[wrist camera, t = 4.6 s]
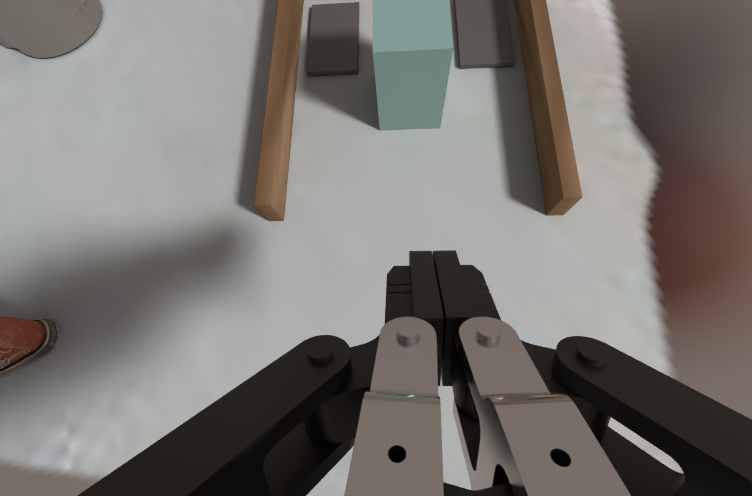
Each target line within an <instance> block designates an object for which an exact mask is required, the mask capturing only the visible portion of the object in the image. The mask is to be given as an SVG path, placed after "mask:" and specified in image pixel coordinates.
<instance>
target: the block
mask: <svg viewBox="0 0 752 496" xmlns="http://www.w3.org/2000/svg"><path fill="white" fill-rule="evenodd" d="M452 52H453V41H452V28H451V15H450V2H449V0H373V62H374V73H375V83H376V94H377V105H378V116H379V127H380V130H405V129H432V128H440V126H441V120H442V113H443V107H444V101H445V95H446V89H447V83H448V77H449V70H450V64H451V58H452Z"/></svg>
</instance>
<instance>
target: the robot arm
mask: <svg viewBox="0 0 752 496" xmlns="http://www.w3.org/2000/svg"><path fill="white" fill-rule="evenodd" d="M102 12H103V11H102V4H101V2H100V0H0V42H1V43H2V44H3V45H4V46H6V47H7V48H17V49H19V50H20V51H21V52H22V53H24V54H26V55H28V56H31V57H37V58H49V57H54V56H59V55H62V54H64V53H67V52H69V51H71V50H73V49H75V48H77V47H78V46H80V45H81V44H82V43H84V42H85V41H86V40H87V39H88V38H89V37H90V36H91V35H92V34H93V33H94V32H95V30H96V29H97V27H98V26H99V23H100V21H101V18H102ZM441 378H442V385H443V386H452V387H453V393H454V402H453V413H454V418H455V422H456V426H457V430H458V434H459V438H460V442H461V446H462V450H463V454H464V458H465V462H466V466H467V470H468V474H469V478H470V483H471V490H468V489H465V488H461V487H458V486H454V485H451V484H447V483H444V482H443V462H442V435H441V408H440V397H438V386H440V379H441ZM611 417H612V418H613V419H615V420H616V421H618V422H619V423H621V424H622V425H624V426H625V427H627V428H628V429H630V430H631V431H633V432H634V433H636V434H638V435H639V436H641V437H642V438H644V439H645V440H647V441H648V442H650V443H651V444H653V445H654V446H656V447H657V448H659V449H660V450H662V451H663V452H665V453H666V454H668V455H669V456H670V457H672V458H673V459H674V460H675V461H676V462H677V463H678V464H679V466H680V467H681V468H682V470H683V472H684V474H682V473H678V472H676V471H674V470H672V469H670V468H668V467H667V466H665V465H664V464H662V463H661V462H659V461H658V460H656V459H655V458H654V457H652V456H651V455H649V454H648V453H646V452H645V451H643V450H642V449H640V448H639V447H637V446H636V445H634V444H633V443H632V442H630V441H629V440H627V439H626V438H624V437H623V436H621V435H620V434H618V433H617V432H615V431H614V430H612V429H611V428H610V427H608V423H609V421H610V418H611ZM353 445H354V448H353V454H352V459H351V464H350V469H349V474H348V480H347V485H346V490H345V495H344V496H752V420H751V419H749V418H747V417H745V416H744V415H742V414H740V413H738V412H736V411H734V410H732V409H730V408H728V407H726V406H724V405H722V404H720V403H719V402H717V401H715V400H713V399H711V398H709V397H707V396H705V395H703V394H701V393H699V392H698V391H696V390H694V389H692V388H690V387H688V386H686V385H684V384H682V383H680V382H678V381H677V380H675V379H673V378H671V377H669V376H667V375H665V374H663V373H661V372H659V371H657V370H655V369H654V368H652V367H650V366H648V365H646V364H644V363H642V362H640V361H638V360H636V359H634V358H633V357H631V356H629V355H627V354H625V353H623V352H621V351H619V350H617V349H615V348H613V347H611V346H610V345H608V344H606V343H603V342H601V341H599V340H596V339H593V338H589V337H582V336H572V337H567V338H564V339H563V340H561V341H560V342H559V343H558V345H557V348H556V350H555V349H550V348H546V347H541V346H537V345H533V344H529V343H526V342H524V341H522V340H520V338H519V337H518V335H517V333H516V332H515V330H514V329H513V328H512V327H511V326H510V325H508V324H507V323H505V322H503V321H501V319H500V316H499V314H498V311H497V309H496V306H495V304H494V301H493V299H492V296H491V294H490V293H489V289H488V286H487V285H486V282H485V279H484V277H483V274H482V273H481V272H480V271H479V270H478V269H476V268H475V267H474V266H473V265H460V263H459V260H458V257H457V253H456V251H455V250H453V251H433V253H432V251H409V266H393V268H392V269H391V270H390V271H389V273H388V274H387V288H386V309H385V325H384V326H383V327H382V329H381V332H380V335H379V336H378V337H376V338H375V339H374V340H372V341H370V342H368V343H365V344H362V345H358V346H354V347H349V346H348V344H347V343H346V342H345V341H344V340H343V339H341V338H339V337H336V336H331V335H320V336H315V337H312V338H309V339H307V340H305V341H303V342H302V343H300V344H299V345H297V346H296V347H294V348H293V349H291V350H290V351H289V352H287V353H286V354H284V355H283V356H281V357H280V358H278V359H277V360H275V361H274V362H272V363H271V364H270V365H268V366H267V367H265V368H264V369H262V370H261V371H259V372H258V373H256V374H255V375H253V376H252V377H250V378H249V379H248V380H246V381H245V382H243V383H242V384H240V385H239V386H237V387H236V388H234V389H233V390H231V391H230V392H229V393H227V394H226V395H224V396H223V397H221V398H220V399H218V400H217V401H215V402H214V403H212V404H211V405H210V406H208V407H207V408H205V409H204V410H202V411H201V412H199V413H198V414H196V415H195V416H193V417H192V418H190V419H189V420H188V421H186V422H185V423H183V424H182V425H180V426H179V427H177V428H176V429H174V430H173V431H171V432H170V433H169V434H167V435H166V436H164V437H163V438H161V439H160V440H158V441H157V442H155V443H154V444H152V445H151V446H150V447H148V448H147V449H145V450H144V451H142V452H141V453H139V454H138V455H136V456H135V457H133V458H132V459H130V460H129V461H128V462H126V463H125V464H123V465H122V466H120V467H119V468H117V469H116V470H114V471H113V472H111V473H110V474H109V475H107V476H106V477H104V478H103V479H101V480H100V481H98V482H97V483H95V484H94V485H92V486H91V487H90V488H88V489H87V490H85V491H84V492H82V493H81V494H80V495H78V496H306V495H307V494H308V493H309V492H310V491H311V490H312V489H313V488H314V487H315V486H316V485H317V484H318V483H319V482H320V481H321V479H322V478H323V477H324V476H325V475H326V474H327V473H328V472H329V471H330V470H331V469H332V468H333V467H334V466H335V465H336V464H337V463H338V462H339V461H340V460H341V459H342V457H343V456H344V455H345V454H346V453H347V452H348V451H349V450H350V449H351V448H352V447H353Z"/></svg>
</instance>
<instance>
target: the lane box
mask: <svg viewBox="0 0 752 496" xmlns="http://www.w3.org/2000/svg"><path fill="white" fill-rule="evenodd" d="M303 2H304V0H278V7H277V16H276V24H275V33H274V41H273V50H272V58H271V66H270V75H269V83H268V92H267V100H266V108H265V117H264V125H263V134H262V142H261V151H260V159H259V167H258V176H257V184H256V193H255V201H254V205H255V206H256V208H257V209H258V210H259V211H260V212H261V213H262V214H263V215H264V216H265V217H266V218H267V219H268V221H284V213H285V202H286V191H287V180H288V169H289V157H290V146H291V135H292V124H293V113H294V102H295V91H296V80H297V69H298V57H299V46H300V35H301V24H302V13H303ZM515 7H516V14H517V20H518V27H519V34H520V40H521V47H522V54H523V60H524V67H525V74H526V81H527V87H528V94H529V101H530V107H531V114H532V121H533V127H534V134H535V141H536V148H537V154H538V161H539V168H540V174H541V181H542V188H543V195H544V201H545V208H546V215H564V214H565V213H566V212H567V211H568V210H569V209H570V208H571V207H572V206H574V205H575V204H576V203H577V202H578V201H579V200H580V199H581V198H582V193H581V187H580V182H579V177H578V171H577V166H576V160H575V155H574V150H573V144H572V139H571V133H570V128H569V123H568V117H567V112H566V106H565V101H564V95H563V90H562V85H561V79H560V74H559V68H558V63H557V58H556V52H555V47H554V41H553V36H552V31H551V25H550V20H549V14H548V9H547V3H546V0H515Z"/></svg>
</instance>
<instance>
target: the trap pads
mask: <svg viewBox="0 0 752 496" xmlns="http://www.w3.org/2000/svg"><path fill="white" fill-rule="evenodd" d="M454 2H455V15H456V27H457V39H458V52H459V64H460V69H464V68H485V67H507V66H513V63H514V60H513V53H512V46H511V39H510V31H509V24H508V17H507V10H506V2H505V0H454ZM358 38H359V2H354V3H337V4H320V5H312V12H311V24H310V37H309V49H308V62H307V75H308V76H311V75H333V74H355V73H358Z"/></svg>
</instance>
